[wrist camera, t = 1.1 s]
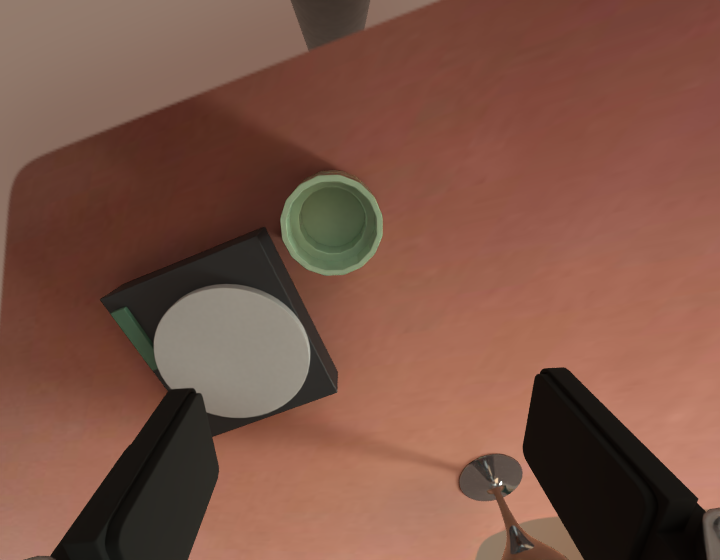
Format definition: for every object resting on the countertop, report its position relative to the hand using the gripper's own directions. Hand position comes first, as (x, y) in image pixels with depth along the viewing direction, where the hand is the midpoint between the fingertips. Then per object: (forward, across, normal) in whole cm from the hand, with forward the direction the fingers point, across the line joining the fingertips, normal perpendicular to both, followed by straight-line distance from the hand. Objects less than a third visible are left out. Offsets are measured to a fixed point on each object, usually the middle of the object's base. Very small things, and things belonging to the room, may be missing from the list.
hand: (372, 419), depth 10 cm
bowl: (+20, +1, -2) cm, 20 cm away
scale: (+20, +10, +8) cm, 24 cm away
